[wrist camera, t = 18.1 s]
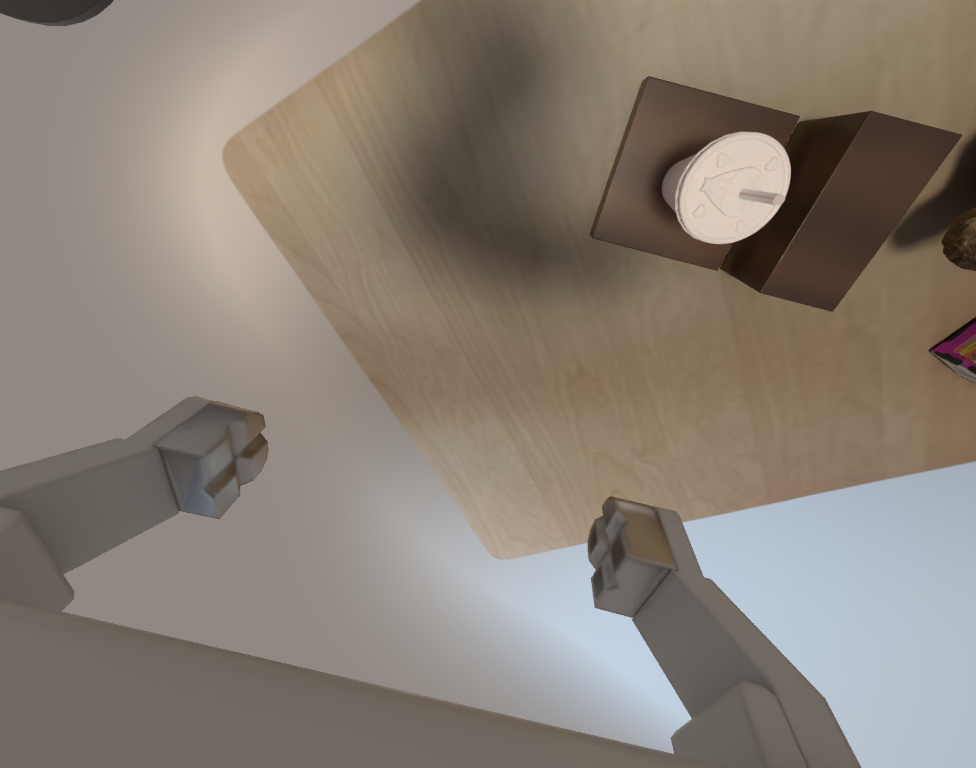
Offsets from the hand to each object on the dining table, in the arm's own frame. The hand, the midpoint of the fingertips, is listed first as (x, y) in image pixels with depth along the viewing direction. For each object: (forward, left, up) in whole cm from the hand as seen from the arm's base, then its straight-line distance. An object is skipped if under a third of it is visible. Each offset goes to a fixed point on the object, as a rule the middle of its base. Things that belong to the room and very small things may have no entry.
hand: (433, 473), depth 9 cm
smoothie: (-8, +13, -32) cm, 35 cm away
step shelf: (-8, +16, -34) cm, 38 cm away
